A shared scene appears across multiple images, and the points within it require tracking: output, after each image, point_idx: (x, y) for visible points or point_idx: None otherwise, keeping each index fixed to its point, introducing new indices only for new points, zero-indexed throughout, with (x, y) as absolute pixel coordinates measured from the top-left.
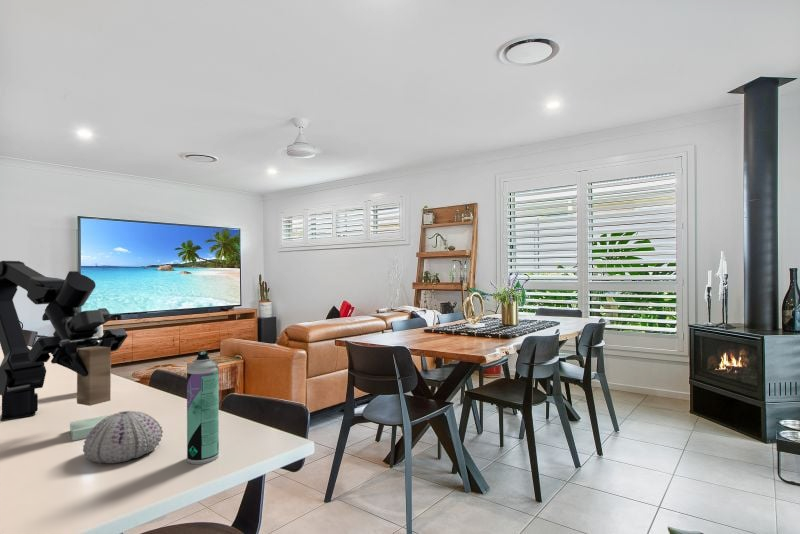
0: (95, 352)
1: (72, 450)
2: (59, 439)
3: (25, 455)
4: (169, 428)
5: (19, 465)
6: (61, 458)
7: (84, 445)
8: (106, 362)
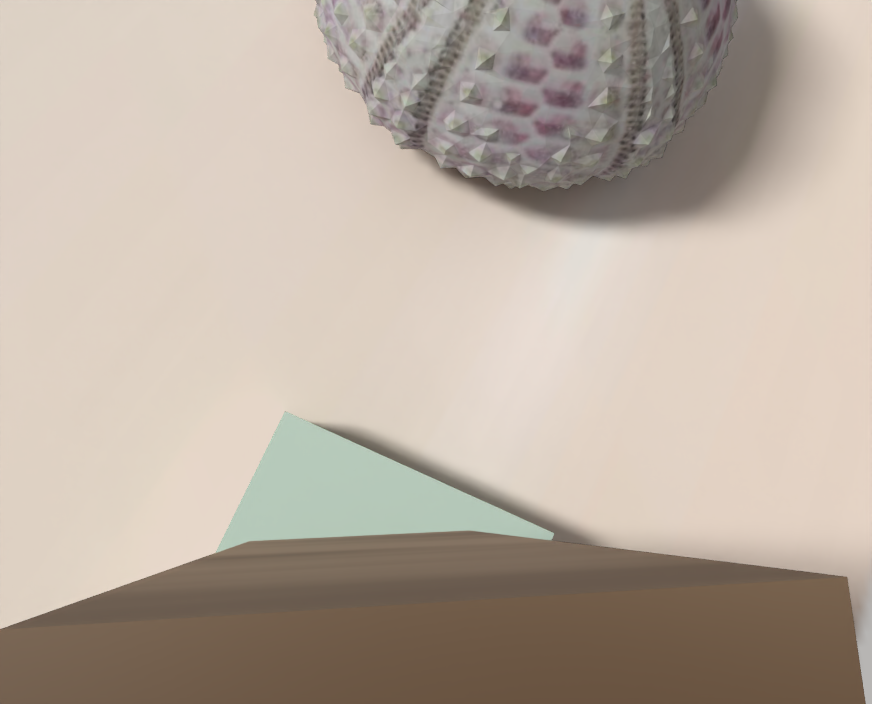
0: (619, 575)
1: (623, 348)
2: None
3: (796, 530)
4: (82, 138)
5: (865, 388)
6: (712, 278)
7: (726, 52)
8: (258, 569)
